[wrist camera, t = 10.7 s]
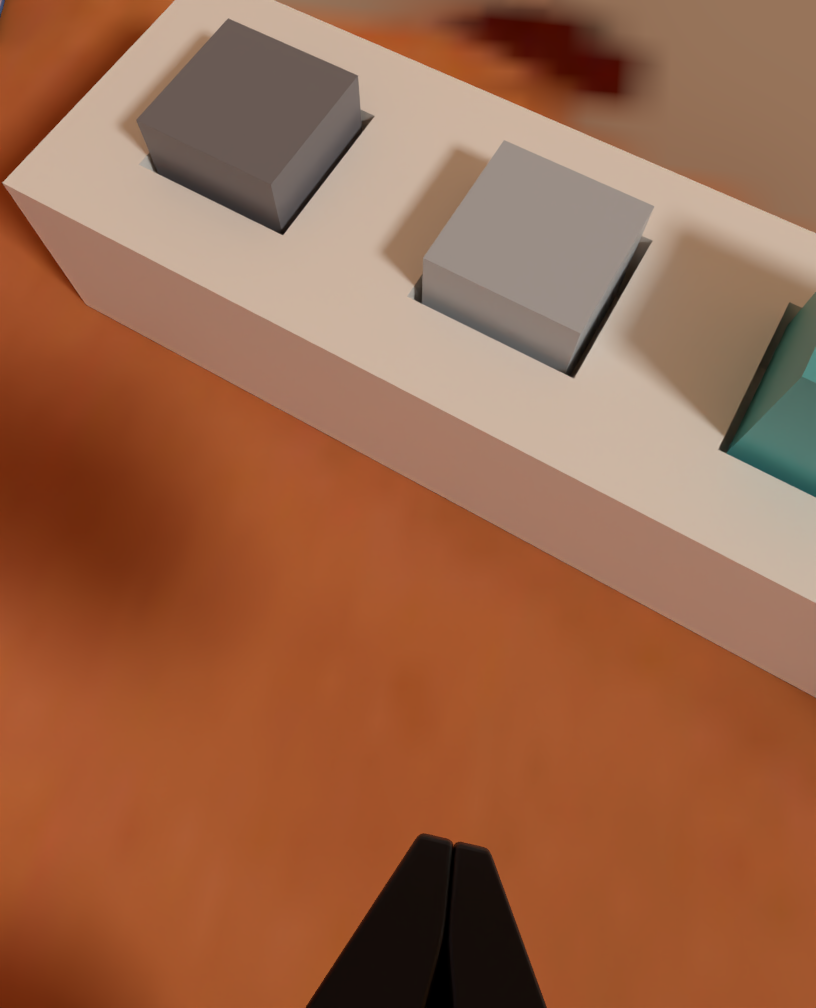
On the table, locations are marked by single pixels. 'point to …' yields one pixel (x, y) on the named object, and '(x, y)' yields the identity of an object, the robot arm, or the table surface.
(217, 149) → the charcoal key
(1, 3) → the ink cartridge box
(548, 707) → the table surface
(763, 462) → the teal key
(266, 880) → the table surface
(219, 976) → the table surface
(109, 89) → the keypad
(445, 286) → the slate key
